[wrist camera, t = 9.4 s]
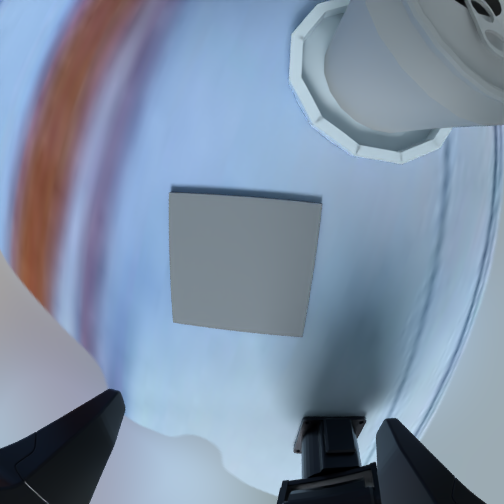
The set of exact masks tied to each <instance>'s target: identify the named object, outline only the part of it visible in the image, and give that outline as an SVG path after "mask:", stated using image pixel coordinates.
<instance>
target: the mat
mask: <svg viewBox="0 0 504 504" xmlns="http://www.w3.org/2000/svg"><path fill="white" fill-rule="evenodd" d="M321 210H322V203H315V202H305V201H295V200H285V199H274V198H262V197H249V196H236V195H221V194H204V193H184V192H170V193H169V253H170V280H171V298H172V314H173V322H174V323H180V324H187V325H194V326H201V327H208V328H216V329H224V330H232V331H241V332H250V333H260V334H270V335H281V336H294V337H302V336H303V330H304V325H305V319H306V314H307V308H308V302H309V296H310V290H311V283H312V277H313V270H314V263H315V256H316V249H317V242H318V234H319V227H320V219H321Z"/></svg>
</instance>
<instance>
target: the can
mask: <svg viewBox="0 0 504 504" xmlns="http://www.w3.org/2000/svg"><path fill="white" fill-rule="evenodd" d="M324 74H325V78H326V81H327V84H328V87H329V90H330V92H331V94H332V95H333V97H334V98H335V100H336V101H337V103H338V105H339V106H340V108H341V109H343V110H344V111H345V112H346V113H347V114H348V115H349V116H350V117H352V118H353V119H354V120H355V121H356V122H358V123H360V124H362V125H364V126H366V127H368V128H370V129H372V130H377V131H382V132H387V133H396V132H405V131H414V130H425V129H437V128H451V127H471V126H493V125H504V0H350V2H349V4H348V7H347V9H346V11H345V13H344V15H343V17H342V19H341V21H340V23H339V25H338V27H337V29H336V32H335V34H334V36H333V38H332V40H331V42H330V45H329V47H328V49H327V52H326V54H325V61H324Z"/></svg>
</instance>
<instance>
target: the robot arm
mask: <svg viewBox="0 0 504 504" xmlns="http://www.w3.org/2000/svg"><path fill="white" fill-rule="evenodd" d="M124 413H125V404H124V401H123V398H122V394H121V392H120V391H117V390H114V389H108V390H106V391H104V392H103V393H101V394H99V395H98V396H96V397H95V398H93V399H91V400H89V401H88V402H86V403H84V404H83V405H81V406H80V407H78V408H76V409H74V410H73V411H71V412H69V413H68V414H66V415H64V416H63V417H61V418H59V419H58V420H56V421H54V422H52V423H50V424H49V425H47V426H45V427H44V428H42V429H40V430H38V431H37V432H35V433H33V434H31V435H29V436H28V437H26V438H23V439H22V440H20V441H18V442H15V443H13V444H11V445H8V446H6V447H3V448H1V449H0V504H89V503H90V501H91V498H92V496H93V493H94V491H95V488H96V486H97V484H98V482H99V479H100V477H101V475H102V472H103V470H104V468H105V466H106V463H107V461H108V459H109V456H110V454H111V452H112V450H113V447H114V445H115V442H116V439H117V435H118V432H119V429H120V426H121V422H122V419H123V416H124ZM365 423H366V418H365V417H305V418H303V420H302V423H301V426H300V430H299V433H298V436H297V439H296V442H295V445H294V453H302V479H299V480H291V481H289V480H285V481H283V482H282V487H281V488H280V492H279V496H278V501H277V504H486V503H485V502H483V501H482V500H481V499H479V498H478V497H477V496H476V495H474V494H473V493H472V492H471V491H470V490H468V489H467V488H466V487H465V486H464V485H463V484H462V483H461V482H460V481H459V480H458V479H457V478H455V476H454V475H452V473H451V472H450V471H449V470H447V468H446V467H445V466H444V465H443V464H442V463H441V462H440V461H439V460H438V459H436V457H435V456H434V455H433V454H432V453H431V452H430V451H429V450H428V449H427V448H426V447H425V446H424V445H423V444H422V443H421V442H420V441H419V440H418V439H417V438H416V437H415V436H414V435H413V434H412V433H411V432H410V431H409V430H408V429H407V428H406V427H405V426H404V425H403V424H402V423H401V422H400V421H399V420H398V419H396V418H387V419H385V420H384V421H383V423H382V425H381V426H380V428H379V430H378V432H377V434H376V447H377V466H376V462H373V463H370V464H369V465H366V466H361V460H360V454H359V448H358V443H357V438H358V436H359V434H360V433H361V431H362V429H363V427H364V425H365Z"/></svg>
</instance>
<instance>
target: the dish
mask: <svg viewBox="0 0 504 504" xmlns="http://www.w3.org/2000/svg"><path fill="white" fill-rule="evenodd" d="M349 2H350V0H330V1H326V2H322V3H319V4H317V5H316V6H315V7H314V9H313V10H312V11H311V12H310V13H309V14H308V15H307V17H306V18H305V19H304V20H303V21H302V22H301V24H300V25H299V26H298V27H297V28H296V29H295V31H294V32H293V33H292V35H291V46H290V64H289V82H288V83H289V86H290V87H291V89H292V91H293V93H294V96H295V98H296V100H297V102H298V105H299V107H300V108H301V110H302V112H303V113H304V115H305V117H306V118H307V120H308V122H309V124H310V126H311V127H312V128H314V129H315V130H317V131H318V132H319V133H320V134H321V135H323V136H324V137H325V138H326V139H327V140H329V141H330V142H331V143H333V144H334V145H336V146H338V147H339V148H341V149H343V150H344V151H345V152H346V153H348V154H349V155H350V156H355V157H361V158H367V159H373V160H379V161H385V162H390V163H396V164H404V163H407V162H409V161H411V160H414V159H416V158H419V157H421V156H423V155H426V154H428V153H431V152H433V151H436V150H438V149H440V147H441V146H442V144H443V143H444V141H445V139H446V138H447V136H448V135H449V133H450V131H451V130H452V128H453V127H451V128H437V129H425V130H414V131H405V132H396V133H387V132H382V131H377V130H372V129H370V128H368V127H366V126H364V125H362V124H360V123H358V122H356V121H355V120H354V119H353V118H352V117H350V116H349V115H348V114H347V113H346V112H345V111H344V110H343V109H341V108H340V106H339V105H338V103H337V101H336V100H335V98H334V97H333V95H332V94H331V92H330V90H329V87H328V84H327V81H326V78H325V74H324V61H325V54H326V52H327V49H328V47H329V45H330V42H331V40H332V38H333V36H334V34H335V32H336V29H337V27H338V25H339V23H340V21H341V19H342V17H343V15H344V13H345V11H346V9H347V7H348V4H349Z"/></svg>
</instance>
